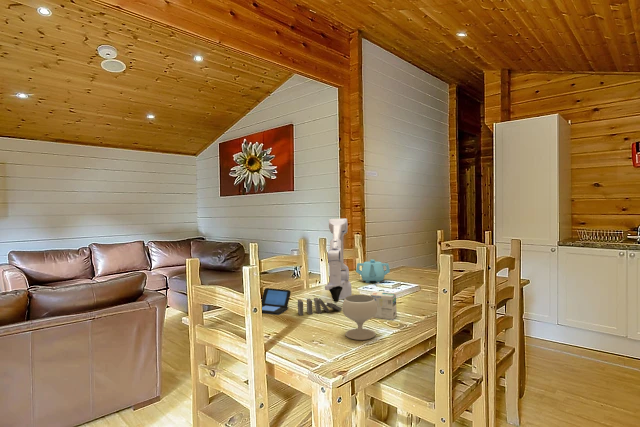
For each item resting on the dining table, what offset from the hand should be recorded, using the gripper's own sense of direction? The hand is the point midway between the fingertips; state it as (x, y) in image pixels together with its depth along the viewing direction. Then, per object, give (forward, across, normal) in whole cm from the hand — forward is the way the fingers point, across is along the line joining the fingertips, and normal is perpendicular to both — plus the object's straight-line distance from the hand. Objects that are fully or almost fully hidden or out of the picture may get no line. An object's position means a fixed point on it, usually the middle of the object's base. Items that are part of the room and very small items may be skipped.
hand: (335, 301), depth 185 cm
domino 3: (+4, +7, -5) cm, 10 cm away
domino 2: (+4, +11, -8) cm, 14 cm away
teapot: (+4, -62, -16) cm, 64 cm away
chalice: (+4, +21, +28) cm, 35 cm away
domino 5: (+3, 0, +1) cm, 4 cm away
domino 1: (+4, +15, -10) cm, 18 cm away
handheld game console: (+5, +17, -28) cm, 33 cm away
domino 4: (+4, +4, -3) cm, 6 cm away
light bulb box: (+4, -4, +24) cm, 25 cm away
